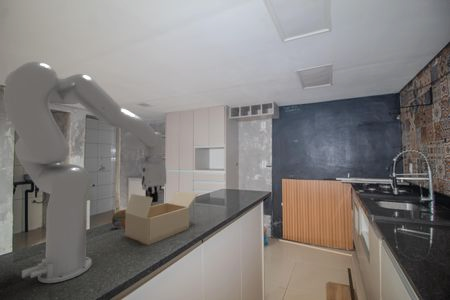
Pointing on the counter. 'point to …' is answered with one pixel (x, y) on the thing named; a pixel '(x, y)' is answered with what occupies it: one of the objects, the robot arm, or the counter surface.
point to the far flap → (183, 199)
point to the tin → (119, 219)
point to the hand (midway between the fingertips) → (154, 201)
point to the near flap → (139, 205)
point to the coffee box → (160, 197)
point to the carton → (157, 223)
